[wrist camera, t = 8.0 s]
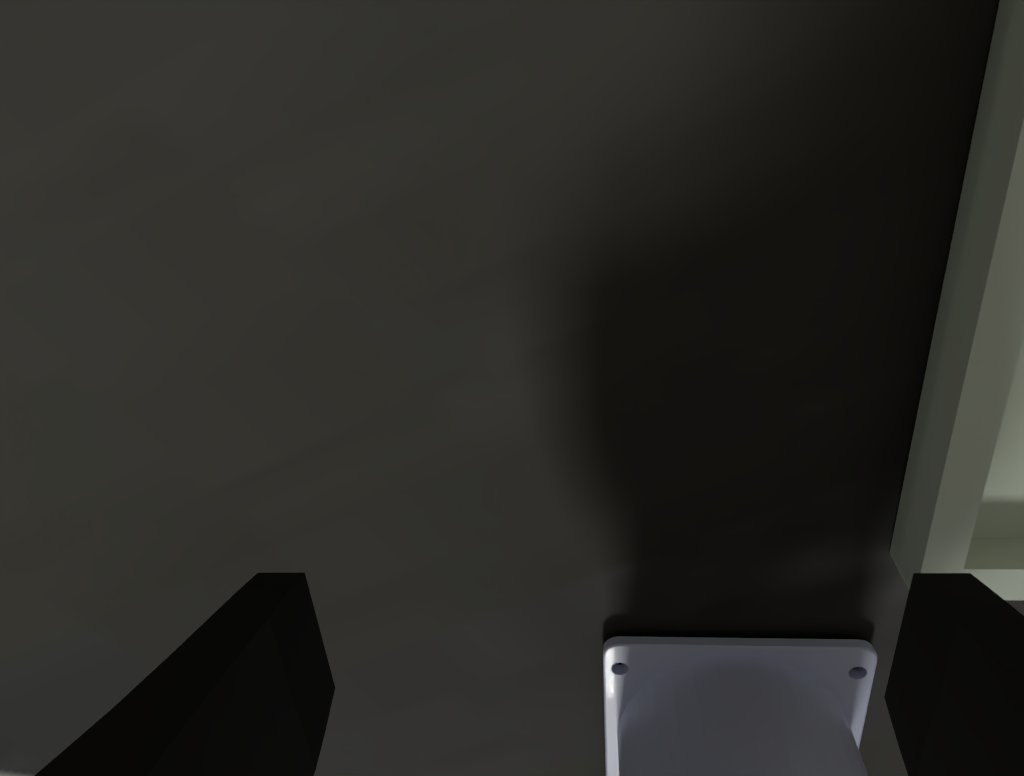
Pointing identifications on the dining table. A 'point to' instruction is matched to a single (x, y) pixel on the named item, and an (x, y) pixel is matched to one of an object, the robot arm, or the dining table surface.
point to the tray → (977, 358)
